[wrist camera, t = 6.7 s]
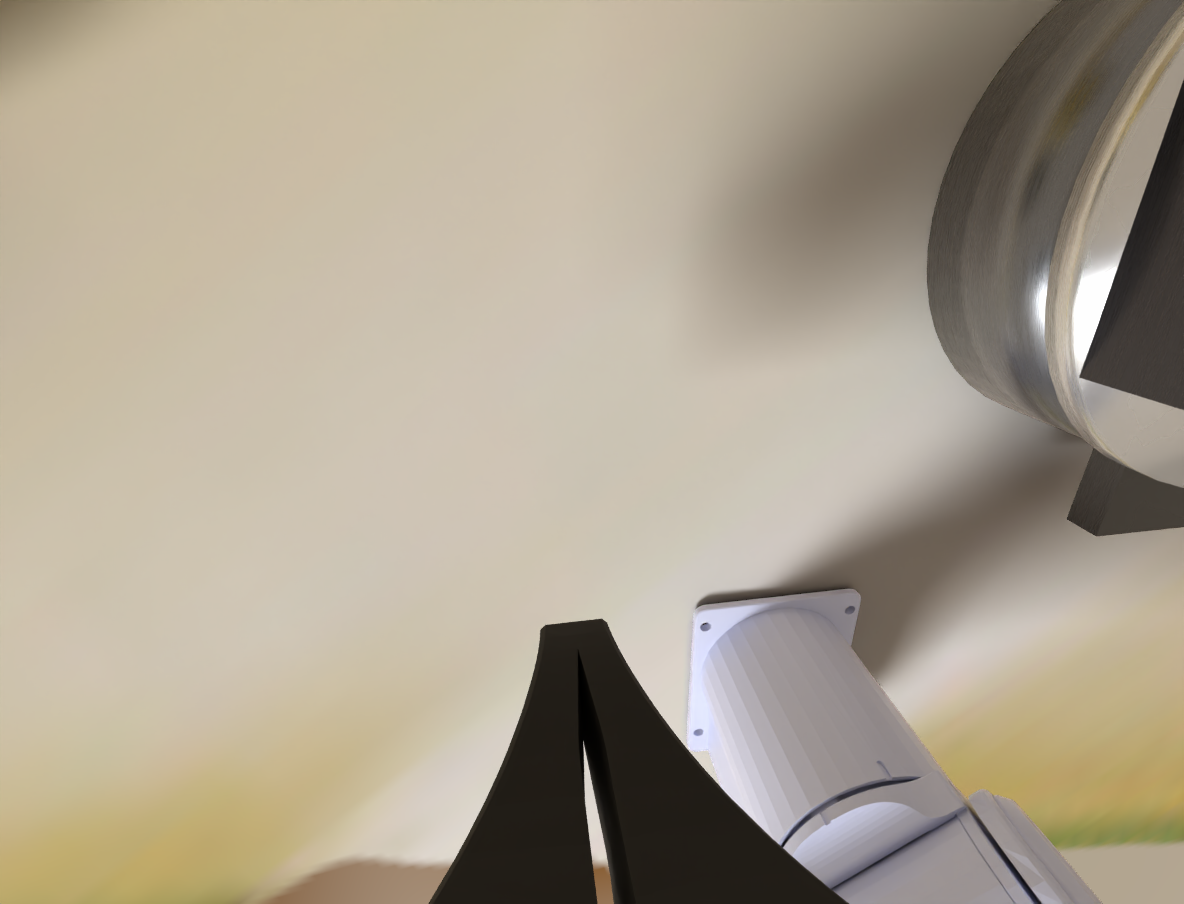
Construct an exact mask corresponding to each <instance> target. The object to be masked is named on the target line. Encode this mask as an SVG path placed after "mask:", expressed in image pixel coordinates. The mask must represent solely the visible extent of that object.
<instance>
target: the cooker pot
mask: <svg viewBox="0 0 1184 904" xmlns="http://www.w3.org/2000/svg"><path fill="white" fill-rule="evenodd" d="M1183 2H1184V0H1062V1H1061V2H1060V3H1059V4H1058V5H1057V6H1056V7H1055V8H1054V9H1053V10H1052V11H1050V12H1049V13H1048V14H1047V15H1046V16H1045V17H1044V18H1043V19H1042V20H1041V21H1040V22H1039V24H1038V25H1037V26H1036V27H1035V28H1034V29H1033V30H1032V31H1031V33H1030V34H1029V35H1028V36H1027V37H1026V38H1025V39H1024V40H1023V42H1022V43H1021V44H1020V45H1019V46H1018V47H1017V48H1016V50H1015V51H1014V52H1013V54H1012V55H1011V56H1010V58H1009V59H1008V60H1007V62H1006V63H1005V64H1004V66H1003V67H1002V68H1001V70H1000V71H999V73H998V74H997V75H996V77H995V78H994V79H993V81H992V82H991V84H990V85H989V87H988V89H987V90H986V92H985V94H984V95H983V97H982V99H981V100H980V102H979V104H978V105H977V107H976V109H975V110H974V112H973V114H972V115H971V117H970V119H969V121H968V123H967V125H966V127H965V129H964V131H963V134H962V136H961V138H960V140H959V142H958V144H957V146H956V148H955V150H954V153H953V155H952V158H951V161H950V163H949V166H948V169H947V171H946V174H945V177H944V179H943V182H942V185H941V188H940V192H939V196H938V200H937V204H936V207H935V211H934V215H933V220H932V226H931V233H930V239H929V246H928V263H927V284H928V295H929V306H930V310H931V314H932V318H933V322H934V327H935V330H936V333H937V335H938V338H939V340H940V342H941V345H942V347H943V350H944V352H945V353H946V355H947V357H948V358H949V360H950V361H951V363H952V365H953V366H954V368H955V369H956V370H957V371H958V373H959V374H960V375H961V376H962V377H963V378H964V379H965V380H966V381H967V382H968V384H969V385H971V386H972V387H973V388H975V389H976V390H977V391H979V392H980V393H981V394H983V395H984V396H985V397H987V398H989V399H991V400H993V401H995V402H997V403H999V404H1001V405H1003V406H1006V407H1008V408H1011V409H1013V410H1015V411H1018V412H1020V413H1023V414H1025V415H1027V416H1030V417H1032V418H1035V419H1037V420H1039V421H1042V422H1044V423H1047V424H1049V425H1051V426H1054V427H1056V428H1059V429H1061V430H1063V431H1066V432H1068V433H1071V434H1073V435H1075V436H1078V437H1080V438H1082V439H1084V438H1083V437H1082V436H1081V435H1080V434H1079V432H1078V431H1077V430H1076V429H1075V428H1074V426H1073V425H1072V424H1071V423H1070V421H1069V419H1068V417H1067V415H1066V413H1065V412H1064V410H1063V408H1062V406H1061V404H1060V402H1059V400H1058V398H1057V395H1056V392H1055V388H1054V385H1053V382H1052V379H1051V376H1050V373H1049V366H1048V359H1047V352H1046V345H1045V302H1046V294H1047V286H1048V279H1049V271H1050V265H1051V260H1052V256H1053V252H1054V248H1055V244H1056V240H1057V236H1058V232H1059V228H1060V224H1061V221H1062V218H1063V215H1064V212H1065V209H1066V207H1067V204H1068V201H1069V198H1070V195H1071V192H1072V190H1073V187H1074V184H1075V181H1076V178H1077V176H1078V174H1079V171H1080V169H1081V167H1082V165H1083V163H1084V161H1085V158H1086V156H1087V154H1088V152H1089V150H1090V148H1091V145H1092V143H1093V141H1094V139H1095V137H1096V135H1097V132H1098V130H1099V128H1100V126H1101V125H1102V123H1103V121H1104V119H1105V118H1106V116H1107V114H1108V112H1109V110H1110V109H1111V107H1112V105H1113V103H1114V102H1115V100H1116V98H1117V96H1118V95H1119V93H1120V91H1121V89H1122V88H1123V86H1124V84H1125V82H1126V81H1127V79H1128V77H1129V76H1130V74H1131V73H1132V71H1133V70H1134V68H1135V67H1136V66H1137V64H1138V63H1139V61H1140V60H1141V58H1142V57H1143V55H1144V54H1145V52H1146V51H1147V49H1148V48H1149V46H1150V45H1151V44H1152V42H1153V41H1154V39H1155V38H1156V36H1157V35H1158V33H1159V32H1160V30H1161V29H1162V28H1163V26H1164V25H1165V24H1166V23H1167V21H1168V20H1169V19H1170V18H1171V16H1172V15H1173V14H1174V13H1175V11H1176V10H1177V9H1178V8H1179V6H1180V5H1181V4H1182V3H1183ZM1067 520H1069V521H1071V522H1073V523H1074V524H1076V525H1078V526H1079V527H1081V528H1083V529H1085V530H1086V531H1088V532H1090V533H1092V534H1093V535H1095V536H1104V535H1113V534H1122V533H1131V532H1141V531H1150V530H1159V529H1169V528H1178V527H1184V488H1182V487H1178V486H1175V485H1171V484H1168V483H1164V482H1161V481H1158V480H1155V479H1153V478H1151V477H1148V476H1146V475H1144V474H1141V473H1139V472H1137V471H1134V470H1132V469H1130V468H1128V467H1125V466H1123V465H1121V464H1119V463H1117V462H1115V461H1113V460H1111V459H1109V458H1107V457H1105V456H1104V455H1103V454H1101V453H1100V452H1099V451H1098V450H1096V449H1095V448H1094V449H1093V452H1092V454H1091V457H1090V459H1089V462H1088V465H1087V467H1086V470H1085V472H1084V475H1083V478H1082V480H1081V483H1080V485H1079V488H1078V491H1077V493H1076V496H1075V498H1074V501H1073V504H1072V506H1071V509H1070V511H1069V514H1068V517H1067Z"/></svg>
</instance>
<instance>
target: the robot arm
mask: <svg viewBox="0 0 1184 904" xmlns="http://www.w3.org/2000/svg"><path fill="white" fill-rule="evenodd" d="M860 603H861V596H860V594H859V593H858V592H857V591H856V590H855V589H840V590H832V591H823V592H814V593H805V594H796V595H787V596H778V597H769V598H760V599H751V600H742V601H733V602H725V603H716V604H707V605H702V606H699V607H698V608H697V609H696V610H695V611H694V614H693V630H692V649H691V667H690V685H689V704H688V722H687V740H686V741H687V745H688V748H689V749H690V750H691V751H694V752H698V751H705V750H708V752H709V754H710V757H711V760H712V763H713V766H714V769H715V772H716V775H717V778H718V780H719V783H720V786H721V787H720V786H719V785H718V784H717V783H716V782H715V780H714V779H713V778H712V777H711V776H710V775H709V774H708V773H707V772H706V771H705V769H704V768H703V767H702V766H701V765H700V764H699V762H698V761H697V760H696V759H695V758H694V757H693V755H692V754H691V753H690V752H689V751H688V750H687V748H686V747H685V746H684V745H683V743H682V742H681V741H680V740H679V738H678V737H677V736H676V734H675V733H674V732H673V731H672V729H671V728H670V727H669V725H668V724H667V723H666V721H665V720H664V719H663V717H662V716H661V715H660V713H659V712H658V710H657V709H656V708H655V706H654V705H653V703H652V702H651V700H650V699H649V697H648V696H647V694H646V693H645V691H644V690H643V688H642V687H641V685H640V684H639V682H638V681H637V679H636V678H635V676H634V674H633V673H632V671H631V669H630V668H629V666H628V664H627V663H626V661H625V659H624V657H623V655H622V654H621V652H620V650H619V648H618V646H617V644H616V642H615V640H614V638H613V636H612V634H611V632H610V629H609V627H608V624H607V622H605V621H604V620H603V619H595V620H586V621H577V622H569V623H560V624H551V625H545V626H544V627H543V628H542V629H541V630H540V643H539V650H538V655H537V660H536V664H535V669H534V673H533V677H532V680H531V684H530V687H529V690H528V694H527V697H526V700H525V704H524V707H523V710H522V713H521V716H520V719H519V721H518V724H517V727H516V730H515V732H514V735H513V738H512V740H511V743H510V746H509V748H508V751H507V753H506V756H505V758H504V761H503V763H502V765H501V768H500V770H499V772H498V775H497V777H496V779H495V781H494V783H493V786H492V788H491V790H490V792H489V794H488V796H487V798H486V801H485V803H484V805H483V807H482V809H481V811H480V813H479V815H478V816H477V818H476V820H475V822H474V824H473V826H472V828H471V830H470V832H469V834H468V836H467V838H466V840H465V842H464V844H463V845H462V847H461V849H460V851H459V853H458V855H457V856H456V858H455V860H454V862H453V863H452V865H451V867H450V868H449V870H448V872H447V874H446V875H445V877H444V878H443V880H442V882H441V884H440V885H439V887H438V889H437V891H436V892H435V894H434V895H433V897H432V899H431V900H430V902H429V904H597V896H596V888H595V881H594V873H593V864H592V856H591V848H590V840H589V832H588V823H587V815H586V807H585V790H584V749H583V741H584V746H585V751H586V755H587V760H588V765H589V770H590V775H591V780H592V785H593V790H594V794H595V799H596V804H597V809H598V814H599V819H600V824H601V828H602V833H603V838H604V843H605V848H606V853H607V859H608V865H609V871H610V876H611V884H612V892H613V900H614V904H1103V903H1102V902H1101V901H1100V900H1099V898H1098V897H1097V896H1096V895H1095V894H1094V893H1093V891H1092V890H1091V889H1090V888H1089V887H1088V885H1087V884H1086V883H1085V882H1084V881H1083V879H1082V878H1081V877H1080V876H1079V875H1078V874H1077V872H1076V871H1075V870H1074V869H1073V868H1072V866H1071V865H1070V864H1069V863H1068V862H1067V861H1066V859H1065V858H1064V857H1063V856H1062V855H1061V854H1060V852H1059V851H1058V850H1057V849H1056V848H1055V847H1054V845H1053V844H1052V843H1051V842H1050V841H1049V840H1048V838H1047V837H1046V836H1045V835H1044V834H1043V833H1042V831H1041V830H1040V829H1039V828H1038V827H1037V826H1036V825H1035V823H1034V822H1033V821H1032V820H1031V819H1030V818H1029V817H1028V815H1027V814H1026V813H1025V812H1024V811H1023V810H1022V809H1021V808H1020V807H1019V805H1018V804H1017V803H1016V802H1015V801H1013V800H1012V799H1008V798H1005V797H1002V796H999V795H994V796H993V795H992V794H991V793H990V792H989V791H988V790H985V789H980V790H978V791H976V792H975V793H973V794H971V795H970V796H969V800H968V799H967V798H966V797H965V796H964V795H963V794H962V793H961V792H960V791H959V790H958V789H957V788H956V787H955V786H954V784H953V783H952V782H951V780H950V779H949V778H948V776H947V775H946V774H945V772H944V771H943V770H942V768H941V767H940V766H939V764H938V763H937V761H936V760H935V759H934V757H933V756H932V755H931V753H930V752H929V751H928V749H927V748H926V747H925V745H924V744H923V743H922V741H921V740H920V739H919V737H918V736H917V735H916V733H915V732H914V731H913V729H912V728H911V727H910V725H909V724H908V723H907V721H906V720H905V719H904V717H903V716H902V715H901V713H900V712H899V711H898V709H897V708H896V707H895V705H894V704H893V703H892V701H891V700H890V699H889V697H888V696H887V695H886V693H885V692H884V691H883V689H882V688H881V687H880V685H879V684H878V683H877V681H876V680H875V679H874V677H873V676H872V675H871V673H870V672H869V671H868V669H867V668H866V667H865V665H864V664H863V663H862V661H861V660H860V659H859V657H858V656H857V655H856V653H855V652H854V650H853V649H852V648H851V645H852V640H853V636H854V631H855V626H856V622H857V617H858V612H859V608H860ZM847 607H848V608H847ZM706 622H707V624H706V625H702V624H703V623H706Z"/></svg>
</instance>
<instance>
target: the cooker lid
mask: <svg viewBox="0 0 1184 904" xmlns="http://www.w3.org/2000/svg"><path fill="white" fill-rule="evenodd" d="M1045 345H1046V352H1047V359H1048V366H1049V373H1050V376H1051V379H1052V382H1053V385H1054V388H1055V392H1056V395H1057V398H1058V400H1059V402H1060V404H1061V406H1062V408H1063V410H1064V412H1065V413H1066V415H1067V417H1068V419H1069V421H1070V423H1071V424H1072V425H1073V426H1074V428H1075V429H1076V430H1077V431H1078V432H1079V434H1080V435H1081V436H1082V437H1083V438H1084V439H1085V441H1086V442H1087V443H1089V444H1090V445H1091V446H1093V447H1094V448H1095V449H1096V450H1098V451H1099V452H1100V453H1101V454H1103V455H1104V456H1105V457H1107V458H1109V459H1111V460H1113V461H1115V462H1117V463H1119V464H1121V465H1123V466H1125V467H1128V468H1130V469H1132V470H1134V471H1137V472H1139V473H1141V474H1144V475H1146V476H1148V477H1151V478H1153V479H1155V480H1158V481H1161V482H1164V483H1168V484H1171V485H1175V486H1178V487H1182V488H1184V2H1183V3H1182V4H1181V5H1180V6H1179V8H1178V9H1177V10H1176V11H1175V13H1174V14H1173V15H1172V16H1171V18H1170V19H1169V20H1168V21H1167V23H1166V24H1165V25H1164V26H1163V28H1162V29H1161V30H1160V32H1159V33H1158V35H1157V36H1156V38H1155V39H1154V41H1153V42H1152V44H1151V45H1150V46H1149V48H1148V49H1147V51H1146V52H1145V54H1144V55H1143V57H1142V58H1141V60H1140V61H1139V63H1138V64H1137V66H1136V67H1135V68H1134V70H1133V71H1132V73H1131V74H1130V76H1129V77H1128V79H1127V81H1126V82H1125V84H1124V86H1123V88H1122V89H1121V91H1120V93H1119V95H1118V96H1117V98H1116V100H1115V102H1114V103H1113V105H1112V107H1111V109H1110V110H1109V112H1108V114H1107V116H1106V118H1105V119H1104V121H1103V123H1102V125H1101V126H1100V128H1099V130H1098V132H1097V135H1096V137H1095V139H1094V141H1093V143H1092V145H1091V148H1090V150H1089V152H1088V154H1087V156H1086V158H1085V161H1084V163H1083V165H1082V167H1081V169H1080V171H1079V174H1078V176H1077V178H1076V181H1075V184H1074V187H1073V190H1072V192H1071V195H1070V198H1069V201H1068V204H1067V207H1066V209H1065V212H1064V215H1063V218H1062V221H1061V224H1060V228H1059V232H1058V236H1057V240H1056V244H1055V248H1054V252H1053V256H1052V260H1051V265H1050V271H1049V279H1048V286H1047V294H1046V302H1045Z"/></svg>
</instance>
